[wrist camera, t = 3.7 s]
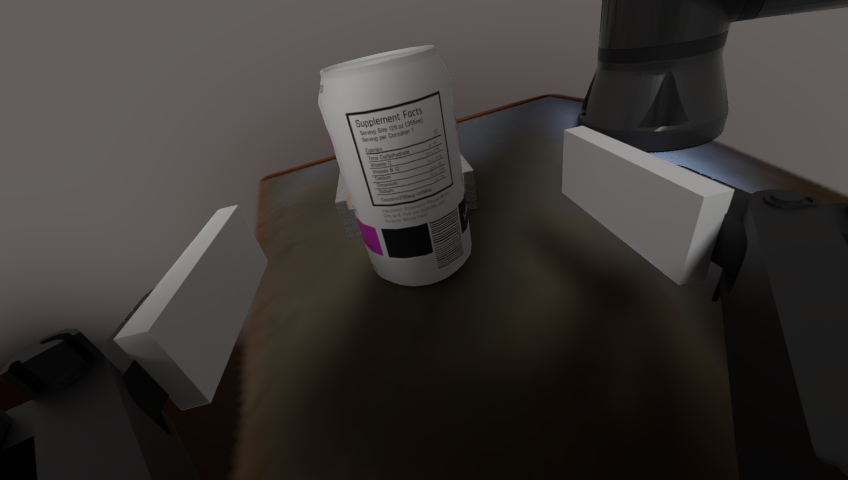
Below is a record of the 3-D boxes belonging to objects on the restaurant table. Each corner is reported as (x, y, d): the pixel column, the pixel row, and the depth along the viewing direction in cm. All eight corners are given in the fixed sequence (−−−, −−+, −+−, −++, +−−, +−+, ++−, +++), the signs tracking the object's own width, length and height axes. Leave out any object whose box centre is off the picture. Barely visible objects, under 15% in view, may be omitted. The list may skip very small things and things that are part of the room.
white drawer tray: (477, 208, 34) (468, 126, 30) (348, 239, 33) (320, 161, 29) (436, 144, 52) (427, 89, 48) (353, 164, 52) (336, 109, 48)
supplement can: (355, 279, 28) (280, 80, 20) (408, 226, 33) (366, 54, 25) (443, 303, 24) (393, 64, 16) (487, 238, 29) (467, 37, 21)
